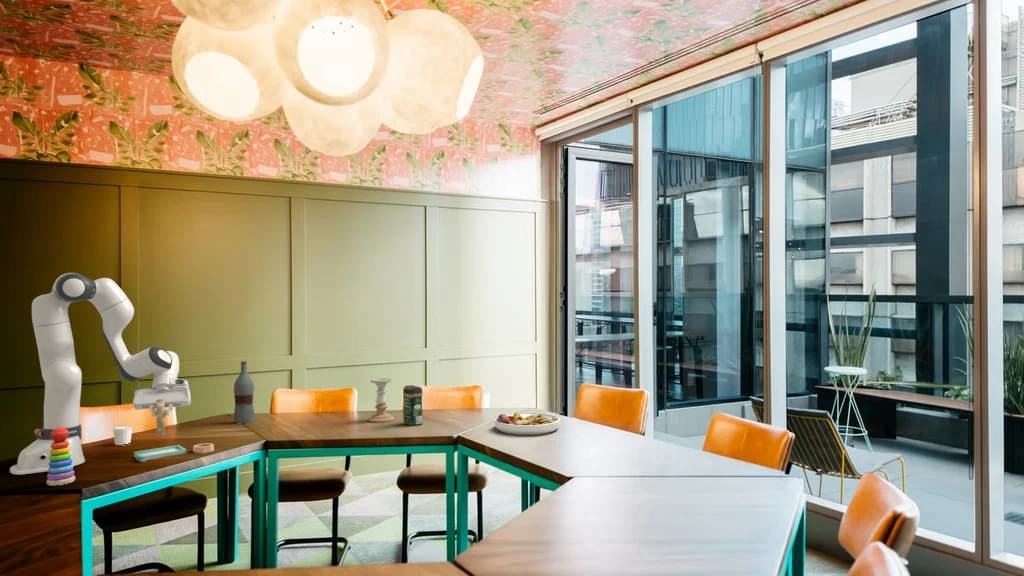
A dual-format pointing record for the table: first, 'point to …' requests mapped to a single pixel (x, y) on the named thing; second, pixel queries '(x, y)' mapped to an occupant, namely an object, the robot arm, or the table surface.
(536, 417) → the bowl
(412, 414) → the coffee jar
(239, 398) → the bottle
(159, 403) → the dowel
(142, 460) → the tray
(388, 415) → the candle holder
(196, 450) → the wooden ring
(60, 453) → the stacking toy
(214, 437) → the table surface
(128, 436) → the white tapered pot
